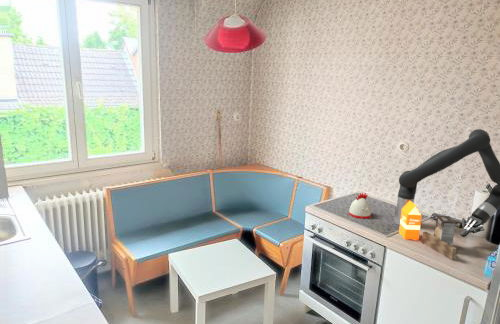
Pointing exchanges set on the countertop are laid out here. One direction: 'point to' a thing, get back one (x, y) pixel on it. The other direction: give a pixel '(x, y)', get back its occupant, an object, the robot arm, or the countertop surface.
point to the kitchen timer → (360, 207)
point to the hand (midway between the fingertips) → (461, 235)
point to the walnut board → (439, 245)
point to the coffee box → (445, 229)
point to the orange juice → (410, 221)
